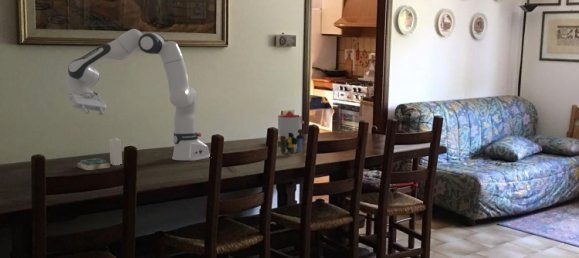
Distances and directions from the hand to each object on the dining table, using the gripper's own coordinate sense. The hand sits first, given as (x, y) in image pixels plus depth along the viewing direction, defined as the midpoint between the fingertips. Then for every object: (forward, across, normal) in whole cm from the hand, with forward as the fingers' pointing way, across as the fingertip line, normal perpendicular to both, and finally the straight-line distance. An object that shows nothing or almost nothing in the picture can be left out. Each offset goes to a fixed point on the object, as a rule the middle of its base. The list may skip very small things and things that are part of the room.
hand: (94, 113), depth 318 cm
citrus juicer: (+39, +119, -29) cm, 128 cm away
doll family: (+64, +80, -40) cm, 110 cm away
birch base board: (+27, -7, +13) cm, 31 cm away
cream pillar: (+28, +4, +9) cm, 30 cm away
